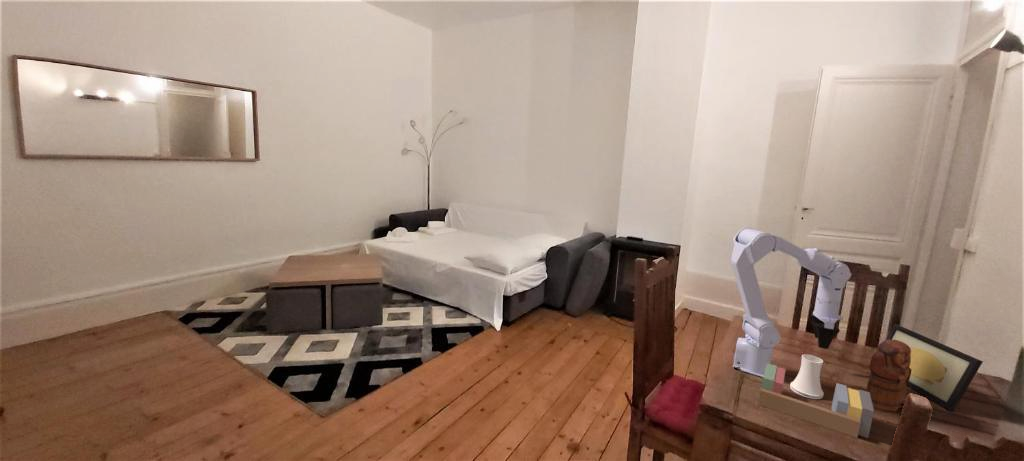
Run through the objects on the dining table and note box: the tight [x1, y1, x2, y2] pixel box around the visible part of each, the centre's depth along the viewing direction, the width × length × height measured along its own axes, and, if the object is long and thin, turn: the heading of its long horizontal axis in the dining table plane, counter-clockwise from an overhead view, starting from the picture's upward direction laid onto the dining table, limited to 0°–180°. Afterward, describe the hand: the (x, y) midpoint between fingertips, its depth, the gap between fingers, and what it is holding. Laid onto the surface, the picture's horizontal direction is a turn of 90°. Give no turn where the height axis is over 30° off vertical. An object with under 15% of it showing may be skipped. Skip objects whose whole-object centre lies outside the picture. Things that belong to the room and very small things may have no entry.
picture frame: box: [885, 323, 984, 412], centre depth 116 cm, size 23×9×15 cm, turn 1°
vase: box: [789, 353, 824, 400], centre depth 111 cm, size 8×8×10 cm
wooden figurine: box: [865, 339, 911, 412], centre depth 106 cm, size 12×6×18 cm, turn 118°
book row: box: [758, 363, 875, 439], centre depth 103 cm, size 22×12×7 cm, turn 53°
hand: (821, 342), depth 121 cm, fingers open, 7 cm apart
